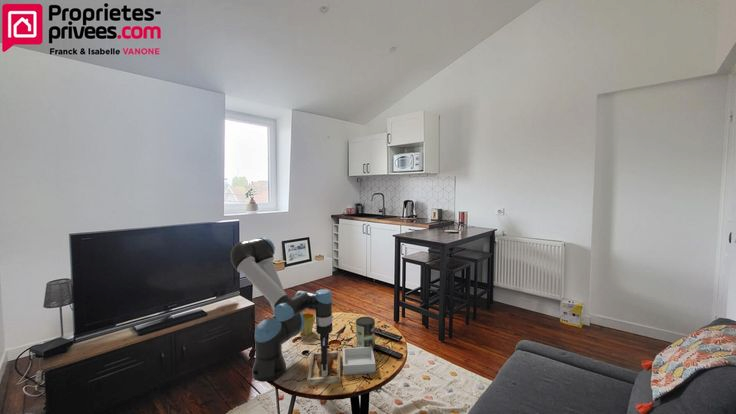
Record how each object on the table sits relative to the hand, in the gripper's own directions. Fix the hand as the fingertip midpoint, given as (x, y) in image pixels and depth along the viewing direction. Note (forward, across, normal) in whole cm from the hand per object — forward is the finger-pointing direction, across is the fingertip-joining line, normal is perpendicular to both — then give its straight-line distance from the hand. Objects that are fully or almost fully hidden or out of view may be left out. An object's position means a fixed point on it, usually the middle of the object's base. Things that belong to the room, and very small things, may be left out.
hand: (325, 368), depth 141 cm
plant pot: (0, +38, +13) cm, 40 cm away
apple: (0, 0, 0) cm, 0 cm away
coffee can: (0, +19, -21) cm, 28 cm away
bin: (0, +2, -16) cm, 16 cm away
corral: (0, 0, 0) cm, 0 cm away
